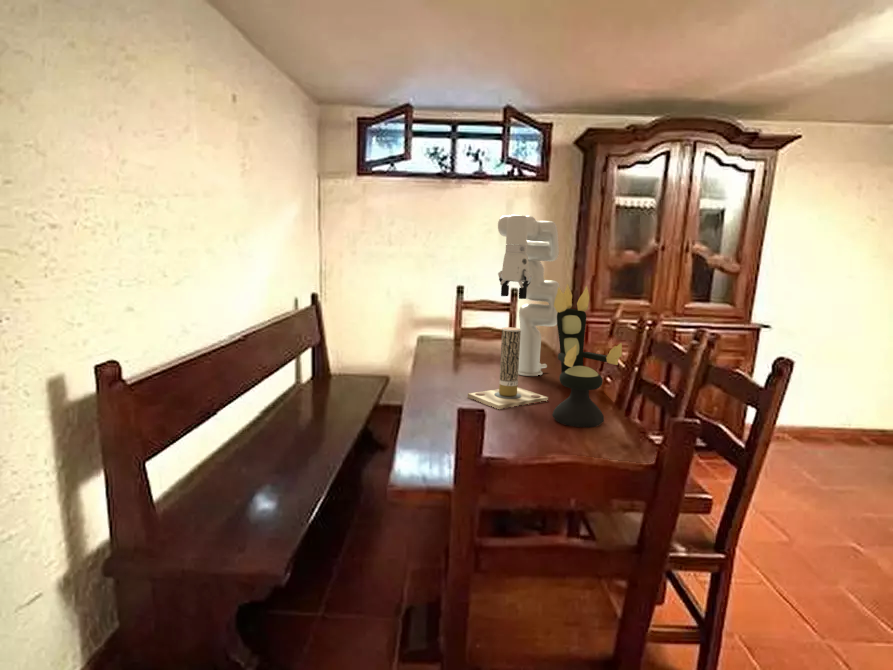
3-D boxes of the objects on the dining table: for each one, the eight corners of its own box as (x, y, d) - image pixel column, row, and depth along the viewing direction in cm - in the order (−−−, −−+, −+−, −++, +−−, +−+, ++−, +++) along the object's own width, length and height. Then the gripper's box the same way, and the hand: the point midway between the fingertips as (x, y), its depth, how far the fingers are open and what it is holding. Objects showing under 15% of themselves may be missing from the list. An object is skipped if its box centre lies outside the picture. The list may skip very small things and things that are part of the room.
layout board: (515, 390, 235) (516, 386, 234) (547, 401, 220) (548, 396, 220) (467, 397, 221) (467, 393, 221) (498, 409, 206) (498, 404, 206)
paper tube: (495, 394, 220) (498, 328, 216) (506, 391, 225) (509, 326, 221) (509, 398, 215) (513, 330, 212) (520, 395, 220) (524, 329, 217)
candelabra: (568, 432, 184) (579, 288, 177) (531, 412, 204) (539, 282, 197) (617, 426, 192) (629, 288, 185) (576, 408, 212) (585, 283, 205)
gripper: (540, 251, 207) (537, 299, 210) (508, 249, 221) (505, 294, 224) (524, 250, 203) (521, 300, 205) (492, 249, 217) (490, 295, 219)
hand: (513, 297), depth 215 cm, fingers open, 9 cm apart
